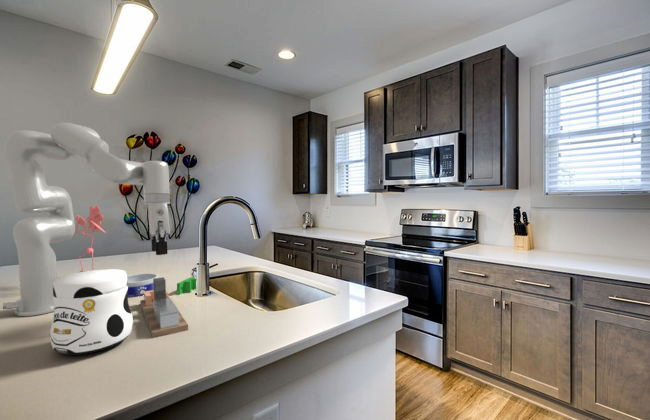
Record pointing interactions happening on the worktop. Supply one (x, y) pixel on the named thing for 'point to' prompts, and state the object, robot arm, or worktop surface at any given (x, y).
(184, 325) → the board
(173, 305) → the grey concrete brick
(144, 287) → the dog bowl
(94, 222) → the figurine
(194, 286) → the pipe clamp
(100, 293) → the milk container
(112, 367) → the worktop surface
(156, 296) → the bar
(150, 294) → the socket
